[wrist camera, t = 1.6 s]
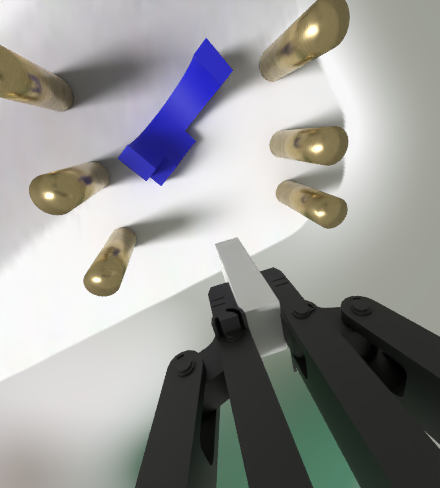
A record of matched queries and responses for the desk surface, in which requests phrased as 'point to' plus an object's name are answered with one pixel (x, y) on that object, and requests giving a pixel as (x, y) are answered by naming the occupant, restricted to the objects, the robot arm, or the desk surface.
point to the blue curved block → (177, 118)
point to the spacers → (281, 145)
